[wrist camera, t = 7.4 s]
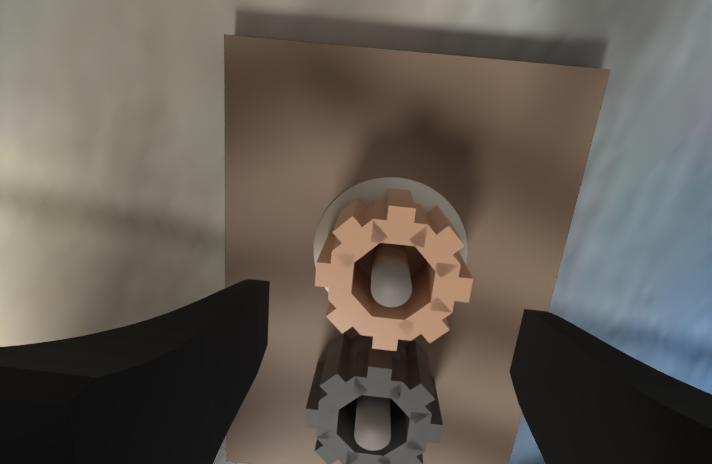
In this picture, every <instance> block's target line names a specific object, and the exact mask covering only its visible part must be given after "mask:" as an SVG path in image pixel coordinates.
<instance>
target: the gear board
mask: <svg viewBox="0 0 712 464" xmlns="http://www.w3.org/2000/svg"><path fill="white" fill-rule="evenodd" d="M224 64H225V284H226V288H227V287H229V286H232V285H234V284H236V283H238V282H241V281H243V280H247V279H254V280H263V281H270V287H269V318H268V345H267V348H266V351H265V354H264V357H263V360H262V362H261V365H260V368H259V371H258V374H257V376H256V378H255V380H254V382H253V384H252V386H251V388H250V389H249V391H248V393H247V395H246V397H245V399H244V401H243V403H242V405H241V407H240V409H239V411H238V413H237V415H236V417H235V419H234V421H233V422H232V424H231V426H230V428H229V430H228V432H227V434H226V461H232V462H240V463H248V464H509V461H510V457H511V453H512V449H513V445H514V441H515V438H516V434H517V430H518V426H519V422H520V418H521V414H522V410H521V408H520V406H519V403H518V400H517V397H516V394H515V390H514V387H513V383H512V379H511V376H510V372H509V371H510V367H511V363H512V359H513V354H514V350H515V346H516V342H517V337H518V333H519V329H520V325H521V320H522V316H523V312H524V309H529V310H538V311H547V312H548V310H549V306H550V302H551V298H552V294H553V290H554V286H555V283H556V279H557V275H558V271H559V267H560V263H561V259H562V255H563V252H564V248H565V244H566V240H567V236H568V232H569V228H570V224H571V221H572V217H573V213H574V209H575V205H576V201H577V197H578V193H579V190H580V186H581V182H582V178H583V174H584V170H585V166H586V162H587V159H588V155H589V151H590V147H591V143H592V139H593V135H594V131H595V128H596V124H597V120H598V116H599V112H600V108H601V104H602V100H603V97H604V93H605V89H606V85H607V81H608V77H609V73H610V70H609V69H598V68H587V67H576V66H565V65H554V64H543V63H532V62H521V61H510V60H499V59H488V58H477V57H466V56H455V55H444V54H433V53H422V52H411V51H400V50H389V49H378V48H367V47H356V46H345V45H334V44H323V43H312V42H301V41H290V40H280V39H269V38H258V37H247V36H236V35H225V34H224ZM387 188H392V189H402V190H410V191H411V194H412V197H413V201H414V203H418V204H421V205H422V207H423V208H424V209H425V210H426V212H428V211H430V210H431V209H432V208H434V207H435V206H436V205H438V206H439V208H440V209H441V210H442V211H443V213H444V214H445V215H446V216H447V218H448V219H449V220H450V221H451V223H452V225H453V226H454V228H455V230H456V232H457V233H458V235H459V237H460V238H461V240H462V242H463V244H464V245H465V246H464V247H463V248H461V249H460V250H459V253H460V254H461V256H462V258H463V260H464V262H465V264H466V266H467V268H468V270H469V272H470V274H471V275H472V277H473V283H472V288H471V293H470V299H469V303H468V302H459V301H454V306H453V312H452V313H451V314H450V315H448V316H447V317H446V318H447V322H448V325H449V328H450V330H449V331H448V332H446V333H445V334H443V335H442V336H440V337H439V338H437V339H436V340H434V341H433V342H431V343H429V342H428V341H427V340H426V339H425V338H424V337H423V335H422V334H420V335H419V336H417V337H416V338H414V339H413V340H411V341H409V340H400V339H398V345H397V351H390V350H381V349H372V339H373V336H364V335H360V334H359V333H358V332H357V330H356V329H355V328H354V327H353V326H352V327H351V328H350V329H348V330H347V331H345V332H344V333H343V334H342V333H341V332H340V331H339V330H338V329H337V328H336V327H335V325H334V324H333V323H332V322H331V321H330V320H329V319H328V318H327V317H326V314H327V311H328V307H329V303H330V301H329V300H328V293H329V287H320V286H315V275H316V262H317V259H318V257H319V255H320V252H321V250H322V248H323V245H324V243H325V241H326V238H327V236H333V237H336V236H335V235H334V234H333V233H332V232H333V229H334V227H335V224H336V222H337V219H338V217H339V214H340V212H341V210H342V209H343V208H345V207H346V206H347V205H348V204H350V203H351V202H352V201H353V200H355V199H356V198H357V197H358V198H359V199H360V200H361V201H362V202H363V203H364V205H365V206H367V205H368V204H369V203H370V202H372V201H373V200H374V199H378V200H386V197H387ZM356 262H357V264H358V265H359V266H360V267H361V268H362V269H363V270H364V271H365V273H366V274H367V275H368V276H369V277H370V278H371V294H372V296H373V298H374V299H375V301H377V302H378V303H379V304H381V305H383V306H385V307H398V306H400V305H402V304H404V303H405V302H406V301H407V300H408V299H409V298H410V296H411V293H412V283H411V277H413V276H414V275H416V274H417V273H418V272H420V271H421V270H423V265H424V257H423V255H422V254H421V253H420V252H419V251H418V249H417V248H416V247H415V246H408V245H398V244H389V243H379V244H378V245H377V246H375V247H374V248H373V249H371V250H370V251H369V252H367V253H366V254H365V255H364V256H362V257H361V258H360V259H358V260H357V261H356Z"/></svg>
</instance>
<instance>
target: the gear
mask: <svg viewBox="0 0 712 464" xmlns="http://www.w3.org/2000/svg"><path fill="white" fill-rule="evenodd" d="M332 233H333V234H334V235H335V236H336V237H333V236H327V238H326V241H325V243H324V245H323V248H322V250H321V252H320V255H319V257H318V259H317V262H316V275H315V286H320V287H329V293H328V300H329V301H330V303H329V307H328V311H327V314H326V317H327V318H328V319H329V320H330V321H331V322H332V323H333V324H334V325H335V327H336V328H337V329H338V330H339V331H340V332H341V333H342V334H343V333H344V332H345V331H347V330H348V329H350V328H351V327H352V326H353V327H354V328H355V329H356V330H357V332H358V333H359V334H360V335H364V336H373V339H372V349H381V350H390V351H397V345H398V339H400V340H409V341H411V340H413V339H414V338H416V337H417V336H419V335H420V334H422V335H423V337H424V338H425V339H426V340H427V341H428V342H429V343H431V342H433V341H434V340H436V339H437V338H439V337H440V336H442V335H443V334H445V333H446V332H448V331H449V330H450V328H449V325H448V322H447V318H446V317H447V316H448V315H450V314H451V313H452V312H453V306H454V301H459V302H468V303H469V299H470V293H471V288H472V283H473V277H472V275H471V274H470V272H469V270H468V268H467V266H466V264H465V262H464V260H463V258H462V256H461V254H460V253H459V250H460V249H461V248H463V247H464V246H465V245H464V244H463V242H462V240H461V238H460V237H459V235H458V233H457V232H456V230H455V228H454V226H453V225H452V223H451V221H450V220H449V219H448V218H447V216H446V215H445V214H444V213H443V211H442V210H441V209H440V208H439V206H438V205H436V206H435V207H434V208H432V209H431V210H430V211H428V212H426V210H425V209H424V208H423V207H422V205H421V204H418V203H414V201H413V197H412V194H411V191H410V190H402V189H392V188H387V197H386V200H378V199H374V200H373V201H372V202H370V203H369V204H368V205H367V206H365V205H364V203H363V202H362V201H361V200H360V199H359V198H358V197H357V198H356V199H355V200H353V201H352V202H351V203H350V204H348V205H347V206H346V207H345V208H343V209H342V210H341V212H340V214H339V217H338V219H337V222H336V224H335V227H334V229H333V232H332ZM379 243H389V244H398V245H408V246H415V247H416V248H417V249H418V251H419V252H420V253H421V254H422V255H423V257H424V265H423V270H421V271H420V272H418V273H417V274H416V275H414V276H413V277H411V283H412V293H411V296H410V298H409V299H408V300H407V301H406V302H405V303H404V304H402V305H400V306H398V307H385V306H383V305H381V304H379V303H378V302H377V301H375V299H374V298H373V296H372V294H371V278H370V277H369V276H368V275H367V274H366V273H365V271H364V270H363V269H362V268H361V267H360V266H359V265H358V264H357V262H356V261H357V260H358V259H360V258H361V257H362V256H364V255H365V254H366V253H367V252H369V251H370V250H371V249H373V248H374V247H375V246H377V245H378V244H379Z"/></svg>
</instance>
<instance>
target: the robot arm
mask: <svg viewBox="0 0 712 464" xmlns="http://www.w3.org/2000/svg"><path fill="white" fill-rule="evenodd" d="M269 287H270V281H263V280H254V279H247V280H243V281H241V282H238V283H236V284H234V285H232V286H229V287H227V288H225V289H223V290H221V291H219V292H216V293H214V294H212V295H210V296H208V297H206V298H203V299H201V300H199V301H196V302H194V303H192V304H189V305H187V306H184V307H182V308H179V309H177V310H174V311H172V312H169V313H167V314H164V315H161V316H158V317H155V318H152V319H149V320H146V321H142V322H139V323H136V324H132V325H129V326H125V327H121V328H116V329H112V330H108V331H103V332H99V333H95V334H90V335H86V336H80V337H75V338H69V339H63V340H57V341H50V342H43V343H36V344H28V345H19V346H8V347H0V464H213V462H214V460H215V457H216V455H217V453H218V451H219V449H220V446H221V444H222V442H223V440H224V438H225V436H226V434H227V432H228V430H229V428H230V426H231V424H232V422H233V421H234V419H235V417H236V415H237V413H238V411H239V409H240V407H241V405H242V403H243V401H244V399H245V397H246V395H247V393H248V391H249V389H250V388H251V386H252V384H253V382H254V380H255V378H256V376H257V374H258V371H259V368H260V365H261V362H262V360H263V357H264V354H265V351H266V348H267V345H268V318H269ZM509 372H510V376H511V379H512V383H513V387H514V390H515V394H516V397H517V400H518V403H519V406H520V408H521V410H522V413H523V415H524V417H525V419H526V421H527V424H528V426H529V428H530V430H531V432H532V435H533V437H534V439H535V441H536V443H537V445H538V448H539V450H540V452H541V454H542V456H543V458H544V461H545V463H546V464H712V395H711V394H709V393H707V392H704V391H702V390H700V389H697V388H695V387H693V386H691V385H688V384H686V383H684V382H682V381H679V380H677V379H675V378H673V377H670V376H668V375H666V374H664V373H662V372H660V371H658V370H656V369H654V368H652V367H650V366H648V365H646V364H644V363H642V362H640V361H638V360H636V359H634V358H633V357H631V356H629V355H627V354H625V353H623V352H621V351H620V350H618V349H616V348H614V347H612V346H611V345H609V344H607V343H605V342H603V341H602V340H600V339H598V338H596V337H595V336H593V335H591V334H589V333H588V332H586V331H584V330H582V329H581V328H579V327H577V326H575V325H574V324H572V323H570V322H568V321H566V320H564V319H562V318H560V317H558V316H556V315H554V314H552V313H549V312H547V311H538V310H529V309H524V312H523V316H522V320H521V325H520V329H519V333H518V337H517V342H516V346H515V350H514V354H513V359H512V363H511V367H510V371H509Z"/></svg>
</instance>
